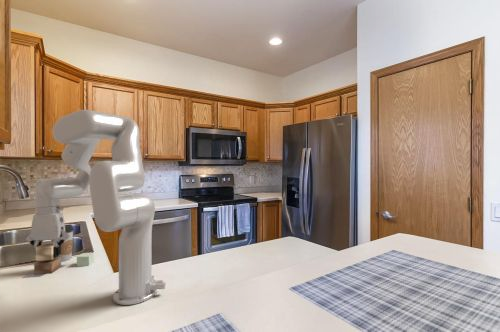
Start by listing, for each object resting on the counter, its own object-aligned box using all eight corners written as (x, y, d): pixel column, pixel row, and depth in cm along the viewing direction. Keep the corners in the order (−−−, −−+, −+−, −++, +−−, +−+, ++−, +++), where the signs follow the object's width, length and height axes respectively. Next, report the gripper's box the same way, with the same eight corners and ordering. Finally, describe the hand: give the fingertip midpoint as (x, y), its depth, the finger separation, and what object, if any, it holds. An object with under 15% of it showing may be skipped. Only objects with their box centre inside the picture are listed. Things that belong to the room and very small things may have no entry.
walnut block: (61, 267, 103) (61, 257, 103) (51, 273, 97) (51, 263, 97) (44, 268, 102) (44, 258, 102) (34, 274, 97) (34, 263, 97)
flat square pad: (71, 266, 106) (71, 264, 106) (54, 278, 95) (54, 275, 95) (41, 267, 105) (41, 266, 105) (21, 279, 94) (21, 277, 94)
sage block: (94, 264, 108) (94, 252, 108) (88, 268, 104) (88, 256, 104) (82, 265, 108) (82, 253, 108) (76, 269, 103) (76, 257, 103)
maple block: (60, 255, 103) (60, 242, 103) (51, 260, 98) (51, 246, 98) (45, 255, 102) (45, 243, 102) (35, 260, 97) (35, 247, 97)
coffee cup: (61, 265, 107) (61, 229, 107) (45, 264, 109) (44, 228, 109) (78, 258, 115) (78, 224, 115) (63, 257, 117) (62, 224, 117)
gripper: (76, 208, 105) (77, 252, 105) (30, 209, 102) (30, 254, 102) (66, 211, 97) (66, 259, 97) (16, 212, 95) (16, 261, 95)
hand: (48, 256), depth 100 cm, fingers closed on maple block, 5 cm apart
